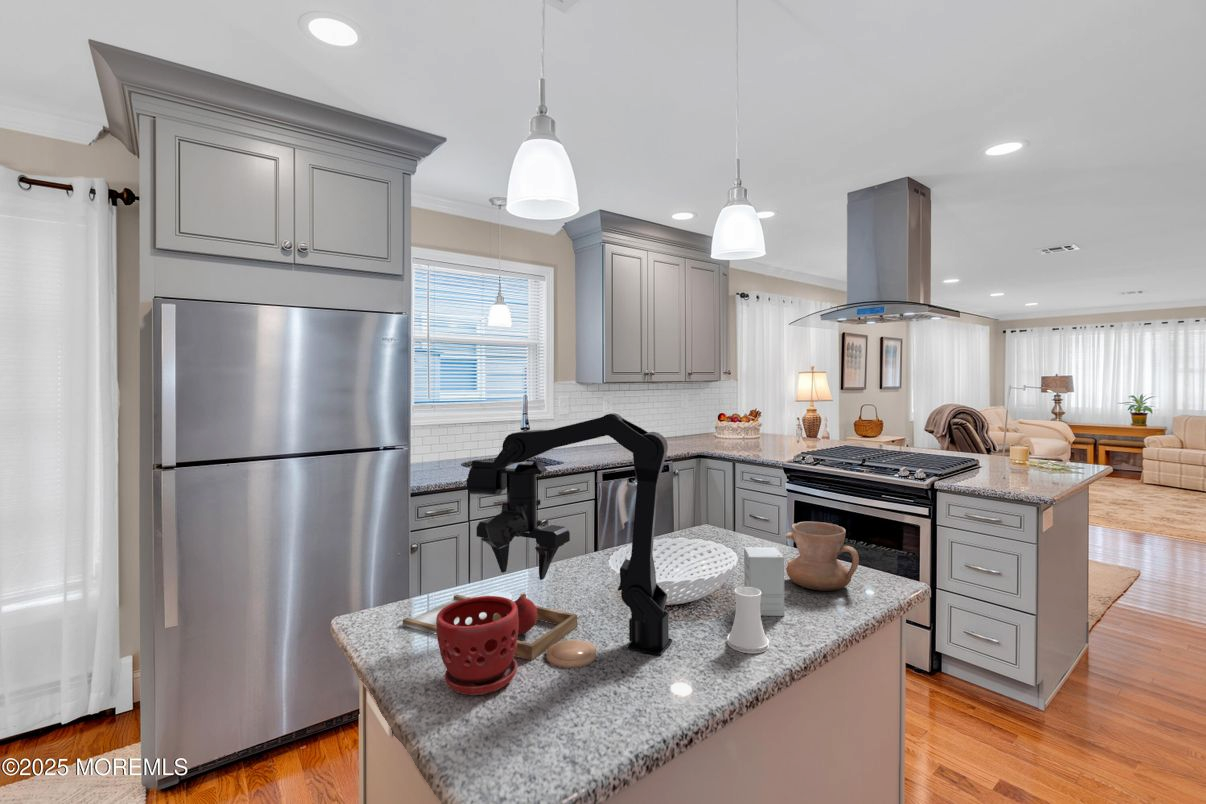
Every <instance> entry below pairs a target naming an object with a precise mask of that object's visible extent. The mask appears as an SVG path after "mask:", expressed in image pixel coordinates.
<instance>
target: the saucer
mask: <svg viewBox="0 0 1206 804" xmlns="http://www.w3.org/2000/svg"><path fill="white" fill-rule="evenodd" d="M545 652H546V660H547V662H548V663H550V664H551V665H553V666H555V667H559V668H562V669H565V668H566V669H574V668H575V669H576V668H581V667H584V666H588V665H590V664H592V663H593V662H594V661H595V660H596V659H597V653H598V651H597V647H596V646H595V645H594V644H593V643H592V642H588V641H585V640H582V639H581V640H580V639H568V640H559V641H558V642H557V643H555V644H553V645H551V646H550V647H549V648H548V649H547V650H546V651H545Z"/></svg>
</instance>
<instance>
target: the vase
mask: <svg viewBox="0 0 1206 804" xmlns="http://www.w3.org/2000/svg"><path fill="white" fill-rule="evenodd" d="M734 595H735V613H734V615H735V616H734V620H733V624H732V628H731V631H730V632H729V634H728V635H727V636H726V637H727V641H726V643H727V645H728V646H729V648H731V649H733V650H734V651H737V652H741V653H744V654H760V653H764V652H766V651H768V650H769V648H770V640H769V638H768V637H767V636H766V634H765V631H764V627H763V622H762V617H761V616H762V615H760V599H761V591H760V590H758V589H756V588H752V587H744V586H739V587H736V588H735V589H734Z"/></svg>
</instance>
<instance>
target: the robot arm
mask: <svg viewBox="0 0 1206 804" xmlns="http://www.w3.org/2000/svg"><path fill="white" fill-rule="evenodd" d="M607 436H608V437H610V438H611V439H613V440H614V441H616V442H617V444H619V445H620V446H622V447H623V448H624V449H626V450H628V451H629V452H631V453H632V457H633V458H632V459H633V460H632V461H633V468H634V473H635V478H636V493H635V504H634V505H635V506H634V515H633V517H634V518H633V528H632V530H633V531H632V543H631V551H630V553H631V555H630V560H629V559H627V558H625V559H624V561H623V563H622V565H621V566H620V568H619V580H620V582H619V586H618V587H617V592H618V591H620V595H621V600H622V602H623V603H624V604H625V606H627V607H628V608H629V609H630V612H631V617H630V618H629V620H628V625H629V626H628V628H629V629H628V633H629V634H628V636H629V637H628V639H629V643H628V644H627V648H628V649H629V650H633V651H637V652H642V653H646V654H650V655H654V656H661V655H662V654H663V652H665V651H666V649H668V647H669V646H670V645H671V644H672V642H673V639H672V638H670V637H669V635H670V633H669V629H670V628H669V626H670V625H669V615H670V614H669V612H668V611H665V607H666V604H667V600H668V594H667V593H666V591H664V589H662V587H660V585H659V584H657V575H656V567H655V562H654V557H653V556H654V555H653V551H654V550H653V549H654V537H655V527H656V526H655V525H656V513H657V503H658V502H657V500H658V489H659V482H660V477H661V475H662V471H663V467H664V464H665V461H666V458H667V457H666V456H667V453H668V448H669V445H668V444H669V443H668V441H667V440H666V437H664V435H662V434H661V433H659V432H657V431H647V430H645V429H643V428H642V427H641V426H638V425H637V424H635V423H632V422H631V421H629V420H627V419H626V418H624V417H622V416H621V415H620V414H618V413H613V412H612V413H607V414H604V415H603V416H601V417H596V418H593V419H589V420H584V421H582V422H581V421H580V422H576V423H573V424H569V425H565V426H560V427H557V428H553V429H533V430H532V429H531V430H529V429H528V430H521V431H518V432H512V433H510V434H507V436H505V438H504V440H503V441H502V442H503V443H502V446H501V447H502V449H501V450H500V452H499V454H498V455H497V456H496V458H495V459H494V460H484V459H475V460H474V459H473V460H472V461H471V467H470V468H469V470H468V475H467V478H466V488H467V492H468V493H469V494H470V495H480V496H481V495H482V496H483V495H485V496H500V495H501V494H502V493H503V491H505V490H506V501H504V502H502V505H501V511H500V513H499V514H496V516H494V517H490V518H487V519H484V520H480V521H479V522H478V524H477V526H476V527H475V528H476V531H475V534H476V537H477V538H481V541H482V542H483V543H484V542H485V543H486V544H487V545H489V546H490V547H491V550H492V551H493V553H494V554H493V555H494V557H495V558H496V561H497V564H498V567H499V570H500V572H501V573H503V574H504V573H506V572H507V568H508V564H509V555H510V554H509V552H510V545H511V544H510V543H511V542H513V539H514V538H515V537H517V538H520V537H522V538H528V539H535V542H536V543H537V546H535V548H534V549H535V550H536V552H537V554H538V575H539V576H538V577H539V581H542V580H544V579H545V578H546V575H547V574H548V571H549V568H550V566H551V564H552V561H553V559H554V557H555V555H556V553H557V552H558V549H559V548H560V547H562V546H564V544H567V543H569V542H570V541H571V533H570V530H569V529H568V527H567V526H563V525H562V526H561V525H555V524H550V525H548V526H545V527H543V528H538V527H540V526H542V525H541V524H542V523H541V519H538V516H537V512H538V511H537V510H538V509H537V507H538V506H540V505H541V499H537V475H542V474H544V473H547V472H548V471H547V470H548V469H547V468H546V467H545V466H544V465H543V464H542V462H540V460H538V459H537V460H535V461H533V463H532V464H531V463H529V464H528V463H523V462H526V461H527V460H531V459H533V458H535V457H536V458H537V457H538V456H540V455H542V454H544V453H546V452H549V451H550V450H552V449H555V448H561V447H564V446H569V445H574V444H577V443H581V442H586V441H589V440H594V439H598V438H602V437H607ZM515 464H517V465H516V466H515V467H514V468H511V467H510V466H512V465H515ZM506 467H508V468H506ZM509 467H510V468H509Z"/></svg>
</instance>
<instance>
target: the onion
mask: <svg viewBox="0 0 1206 804" xmlns="http://www.w3.org/2000/svg"><path fill="white" fill-rule="evenodd" d="M515 603H516V605H517V608H518V618H519V627H518V635H519V634H520V635H522V636H524V635H526V634H527V633H528V632H529V631H530V630H532V628H533V627H535V625H536V624H537V622H538V620H537V617H538V615H537V609H536V606H537V605H536V604H535V603H534V602H533V601H532V600H531V599H529V598H527V594H526V593H525V592H523V593H520V595H519V597H518V598H517V599H516V600H515Z"/></svg>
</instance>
